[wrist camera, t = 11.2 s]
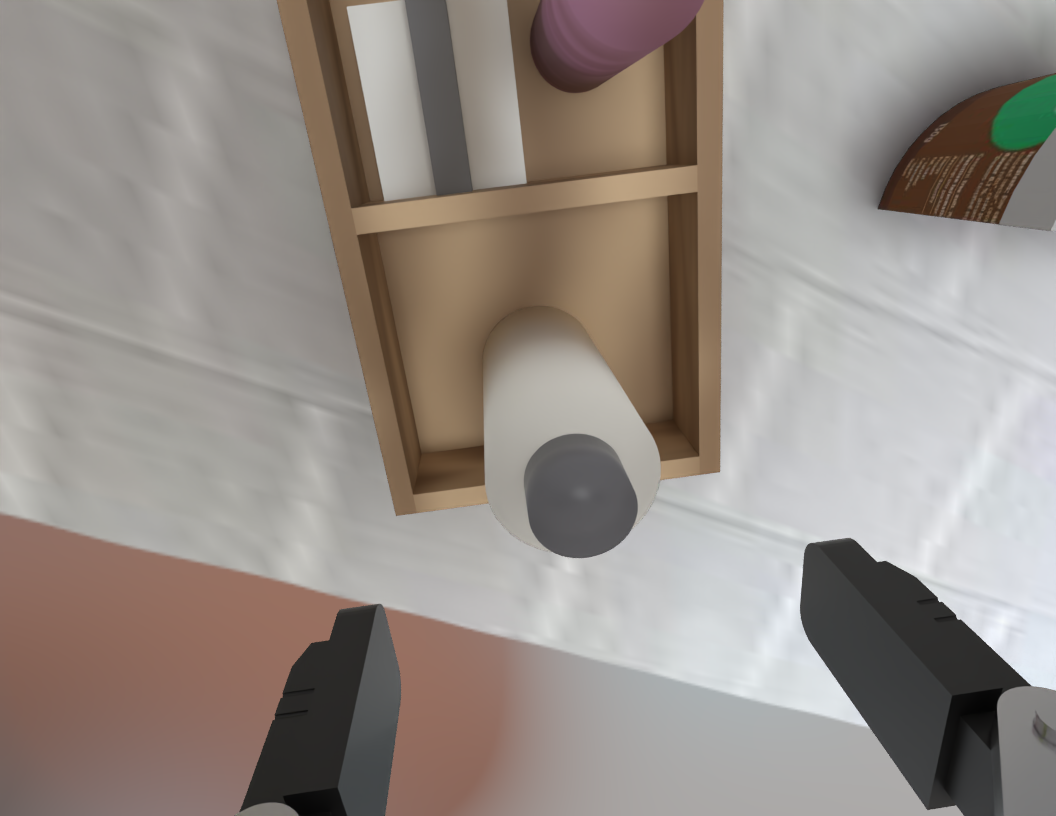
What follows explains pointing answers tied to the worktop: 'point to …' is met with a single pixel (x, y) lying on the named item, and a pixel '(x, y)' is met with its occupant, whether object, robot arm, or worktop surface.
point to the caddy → (519, 207)
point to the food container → (985, 160)
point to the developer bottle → (562, 438)
